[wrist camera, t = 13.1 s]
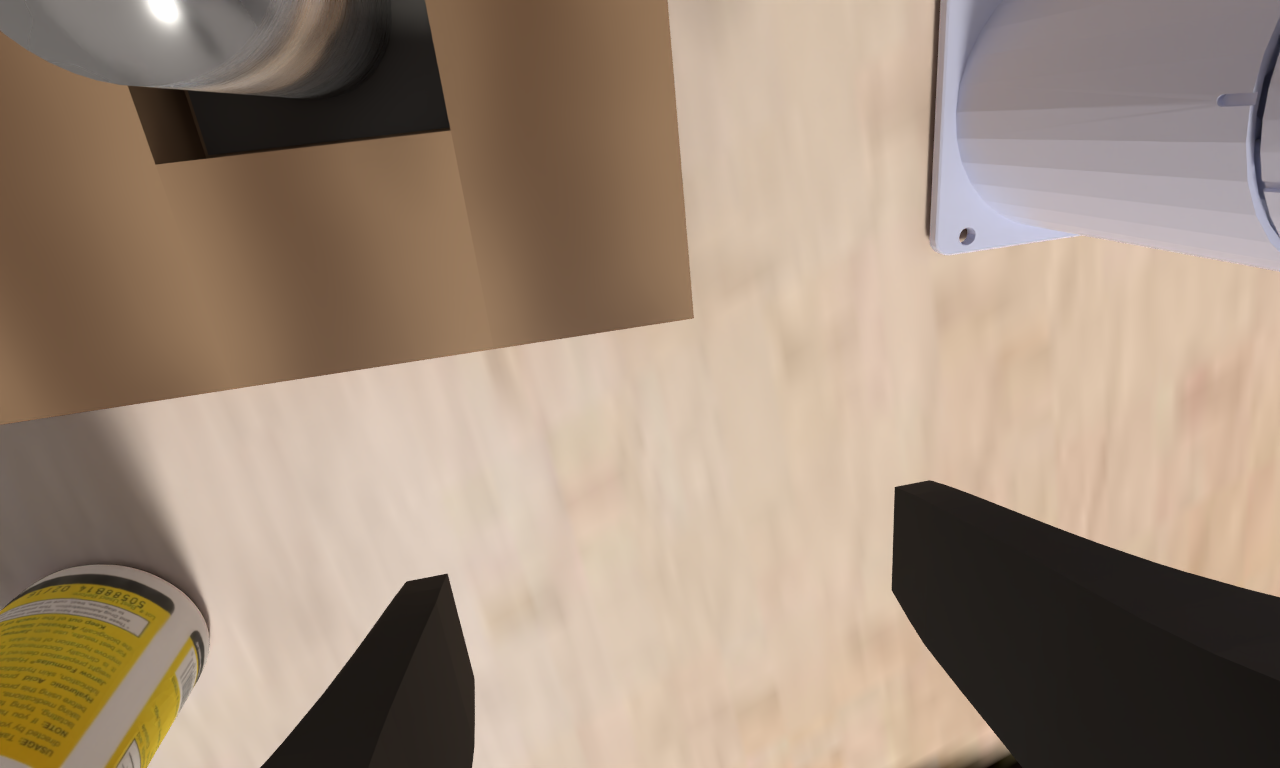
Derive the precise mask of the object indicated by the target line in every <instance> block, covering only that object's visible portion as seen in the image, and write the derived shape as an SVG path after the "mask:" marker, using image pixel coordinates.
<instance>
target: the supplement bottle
mask: <svg viewBox="0 0 1280 768" xmlns="http://www.w3.org/2000/svg"><path fill="white" fill-rule="evenodd" d="M209 645H210V642H209V632H208V628H207V625H206V623H205V620H204V618H203V616H202V614H201V612H200V611H199V609H198V608H197V607H196V605H195V604H194V603H193V602H192V601H191V600H190V598H189V597H187V596H186V595H185V594H184V593H183V592H182V591H181V590H179V589H178V588H176V587H175V586H174V585H172V584H170V583H169V582H167V581H165V580H163V579H161V578H160V577H157V576H155V575H153V574H151V573H148V572H145V571H142V570H139V569H135V568H131V567H126V566H120V565H105V564H100V565H84V566H78V567H72V568H68V569H64V570H61V571H58V572H56V573H53V574H51V575H49V576H47V577H45V578H43V579H41V580H39V581H38V582H36V583H34V584H33V585H31V586H30V587H29V588H27V589H26V590H25V591H23V592H22V593H21V594H20V595H18V596H17V597H16V598H15V599H13V600H12V601H11V602H10V603H9V604H8V605H7V606H6V607H5V608H4V609H3V610H2V611H0V768H147V766H148V764H149V763H150V761H151V759H152V758H153V756H154V754H155V752H156V751H157V749H158V747H159V745H160V744H161V742H162V740H163V739H164V737H165V735H166V734H167V732H168V730H169V729H170V727H171V725H172V723H173V722H174V720H175V719H176V717H177V715H178V713H179V712H180V710H181V708H182V706H183V705H184V703H185V701H186V700H187V698H188V696H189V695H190V693H191V691H192V689H193V687H194V686H195V684H196V682H197V681H198V679H199V677H200V674H201V672H202V670H203V668H204V666H205V664H206V661H207V657H208V653H209Z"/></svg>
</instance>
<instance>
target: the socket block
mask: <svg viewBox="0 0 1280 768" xmlns="http://www.w3.org/2000/svg"><path fill="white" fill-rule="evenodd" d="M390 3H391V15H392V23H391V34H390V39H389V44H388V46H387V49H386V52H385V55H384V57H383V59H382V61H381V63H380V65H379V66H378V67H377V69H376V70H375V72H374V73H373V74H372V75H371V76H370V77H369V78H368V79H367V80H366V81H365V82H364V83H363V84H361V85H360V86H359V87H357V88H356V89H354V90H352V91H350V92H348V93H346V94H343V95H340V96H338V97H333V98H328V99H318V100H312V99H298V98H285V97H272V96H259V95H245V94H232V93H219V92H206V91H193V90H180V89H166V88H153V87H140V86H127V85H118V84H113V83H107V82H102V81H97V80H94V79H91V78H87V77H84V76H81V75H78V74H75V73H72V72H70V71H68V70H65V69H63V68H61V67H58V66H56V65H54V64H51V63H49V62H48V61H46V60H44V59H42V58H40V57H39V56H37V55H35V54H33V53H32V52H30V51H28V50H26V49H25V48H24V47H22V46H21V45H19V44H18V43H16V42H15V41H14V40H12V39H11V38H9V37H8V36H6V35H5V34H4V33H3V32H1V31H0V425H2V424H9V423H15V422H22V421H29V420H35V419H42V418H48V417H55V416H61V415H68V414H74V413H81V412H87V411H94V410H100V409H107V408H113V407H120V406H126V405H133V404H139V403H146V402H152V401H159V400H165V399H172V398H178V397H185V396H191V395H198V394H204V393H211V392H217V391H224V390H230V389H237V388H243V387H250V386H256V385H263V384H269V383H276V382H282V381H289V380H295V379H302V378H308V377H315V376H321V375H328V374H334V373H341V372H347V371H354V370H360V369H367V368H373V367H380V366H386V365H393V364H399V363H406V362H412V361H419V360H425V359H432V358H438V357H445V356H452V355H458V354H465V353H471V352H478V351H484V350H491V349H497V348H504V347H510V346H517V345H523V344H530V343H536V342H543V341H549V340H556V339H562V338H569V337H575V336H582V335H588V334H595V333H601V332H608V331H614V330H621V329H627V328H634V327H640V326H647V325H653V324H660V323H666V322H673V321H679V320H686V319H692V318H694V315H693V303H692V291H691V279H690V267H689V255H688V243H687V231H686V219H685V207H684V195H683V182H682V170H681V158H680V146H679V134H678V122H677V110H676V98H675V86H674V74H673V62H672V50H671V38H670V26H669V14H668V2H667V0H390Z"/></svg>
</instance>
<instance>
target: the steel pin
mask: <svg viewBox="0 0 1280 768" xmlns="http://www.w3.org/2000/svg"><path fill="white" fill-rule="evenodd" d="M391 23H392V15H391V3H390V0H0V31H1V32H3V33H4V34H5V35H6V36H8V37H9V38H11V39H12V40H14V41H15V42H16V43H18V44H19V45H21V46H22V47H24V48H25V49H26V50H28V51H30V52H32V53H33V54H35V55H37V56H39V57H40V58H42V59H44V60H46V61H48V62H49V63H51V64H54V65H56V66H58V67H61V68H63V69H65V70H68V71H70V72H72V73H75V74H78V75H81V76H84V77H87V78H91V79H94V80H97V81H102V82H107V83H113V84H118V85H127V86H140V87H153V88H166V89H180V90H193V91H206V92H219V93H232V94H245V95H259V96H272V97H285V98H298V99H312V100H318V99H328V98H333V97H338V96H340V95H343V94H346V93H348V92H350V91H352V90H354V89H356V88H357V87H359V86H360V85H361V84H363V83H364V82H365V81H366V80H367V79H368V78H369V77H370V76H371V75H372V74H373V73H374V72H375V70H376V69H377V67H378V66H379V65H380V63H381V61H382V59H383V57H384V55H385V52H386V49H387V46H388V44H389V39H390V34H391Z"/></svg>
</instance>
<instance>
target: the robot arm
mask: <svg viewBox="0 0 1280 768" xmlns="http://www.w3.org/2000/svg"><path fill="white" fill-rule="evenodd" d="M965 228H966V229H967V233H968V234H967V237H966V239H965V240H964V241H963V242H961V243H960V240H959V236H960V233H961V232H962V230H963V229H965ZM1082 235H1083V236H1088V237H1094V238H1099V239H1105V240H1110V241H1116V242H1121V243H1126V244H1132V245H1137V246H1143V247H1148V248H1154V249H1159V250H1165V251H1170V252H1176V253H1181V254H1187V255H1192V256H1197V257H1203V258H1208V259H1214V260H1219V261H1225V262H1230V263H1236V264H1241V265H1247V266H1252V267H1257V268H1263V269H1268V270H1274V271H1279V272H1280V0H941V1H940V23H939V45H938V66H937V88H936V110H935V131H934V153H933V174H932V196H931V218H930V246H931V247H932V249H933V250H934V251H936V252H937V253H940V254H943V255H954V254H961V253H968V252H974V251H981V250H988V249H994V248H1001V247H1008V246H1015V245H1021V244H1028V243H1035V242H1041V241H1048V240H1055V239H1061V238H1068V237H1075V236H1082ZM892 591H893V593H894V595H895V597H896V598H897V600H898V602H899V603H900V605H901V607H902V609H903V610H904V612H905V614H906V615H907V617H908V619H909V621H910V622H911V624H912V625H913V627H914V629H915V630H916V632H917V633H918V635H919V637H920V638H921V640H922V641H923V643H924V644H925V646H926V647H927V648H928V650H929V651H930V652H931V653H932V655H933V656H934V657H935V659H936V660H937V661H938V662H939V664H940V665H941V666H942V668H943V669H944V670H945V671H946V673H947V674H948V675H949V676H950V678H951V679H952V680H953V681H954V683H955V684H956V685H957V687H958V688H959V689H960V690H961V692H962V693H963V694H964V695H965V697H966V698H967V699H968V700H969V701H970V703H971V704H972V705H973V706H974V708H975V709H976V710H977V711H978V713H979V714H980V715H981V716H982V718H983V719H984V720H985V721H986V723H987V724H988V725H989V726H990V728H991V729H992V730H993V731H994V733H995V734H996V735H997V736H998V738H999V739H1000V740H1001V741H1002V743H1003V744H1004V745H1005V746H1006V748H1007V749H1008V750H1009V751H1010V752H1011V754H1012V755H1013V756H1014V757H1015V759H1016V760H1017V761H1018V762H1019V764H1020V765H1021V766H1022V767H1023V768H1280V597H1276V596H1272V595H1268V594H1264V593H1260V592H1256V591H1252V590H1248V589H1244V588H1241V587H1237V586H1234V585H1230V584H1226V583H1223V582H1219V581H1216V580H1212V579H1209V578H1205V577H1202V576H1198V575H1194V574H1191V573H1187V572H1184V571H1180V570H1177V569H1174V568H1171V567H1168V566H1164V565H1161V564H1158V563H1155V562H1152V561H1149V560H1146V559H1143V558H1140V557H1137V556H1134V555H1131V554H1128V553H1125V552H1122V551H1119V550H1116V549H1113V548H1110V547H1108V546H1105V545H1102V544H1099V543H1096V542H1093V541H1091V540H1088V539H1085V538H1083V537H1080V536H1077V535H1074V534H1072V533H1069V532H1066V531H1064V530H1061V529H1058V528H1056V527H1053V526H1051V525H1048V524H1045V523H1043V522H1040V521H1038V520H1035V519H1033V518H1030V517H1028V516H1025V515H1022V514H1020V513H1017V512H1015V511H1012V510H1010V509H1007V508H1005V507H1002V506H1000V505H997V504H995V503H992V502H989V501H987V500H984V499H982V498H979V497H977V496H974V495H971V494H969V493H966V492H963V491H961V490H958V489H955V488H952V487H949V486H946V485H944V484H940V483H937V482H934V481H930V480H929V481H924V482H919V483H914V484H908V485H903V486H898V487H895V500H894V533H893V566H892ZM474 733H475V684H474V675H473V671H472V667H471V664H470V660H469V656H468V652H467V648H466V644H465V640H464V636H463V632H462V628H461V624H460V621H459V617H458V613H457V609H456V605H455V601H454V597H453V593H452V589H451V585H450V581H449V577H448V574H443V575H438V576H433V577H428V578H423V579H418V580H412V581H407V582H406V583H405V584H404V585H403V587H402V588H401V589H400V591H399V592H398V593H397V595H396V596H395V597H394V599H393V600H392V601H391V603H390V604H389V606H388V607H387V608H386V610H385V611H384V613H383V614H382V615H381V617H380V618H379V620H378V621H377V622H376V624H375V625H374V627H373V628H372V629H371V631H370V632H369V633H368V635H367V636H366V638H365V639H364V640H363V642H362V643H361V645H360V646H359V647H358V649H357V650H356V651H355V653H354V654H353V655H352V657H351V658H350V659H349V661H348V662H347V663H346V665H345V666H344V667H343V668H342V670H341V671H340V672H339V674H338V675H337V676H336V678H335V679H334V680H333V682H332V683H331V684H330V686H329V687H328V688H327V690H326V691H325V692H324V693H323V695H322V696H321V697H320V698H319V700H318V701H317V702H316V703H315V704H314V706H313V707H312V708H311V709H310V710H309V712H308V713H307V714H306V715H305V716H304V718H303V719H302V720H301V721H300V723H299V724H298V725H297V726H296V727H295V729H294V730H293V731H292V732H291V733H290V735H289V736H288V737H287V738H286V739H285V741H284V742H283V743H282V744H281V745H280V746H279V747H278V749H277V750H276V751H275V752H274V753H273V754H272V755H271V756H270V758H269V759H268V760H267V761H266V762H265V763H264V764H263V765H262V766H261V767H260V768H472V762H473V753H474Z"/></svg>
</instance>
